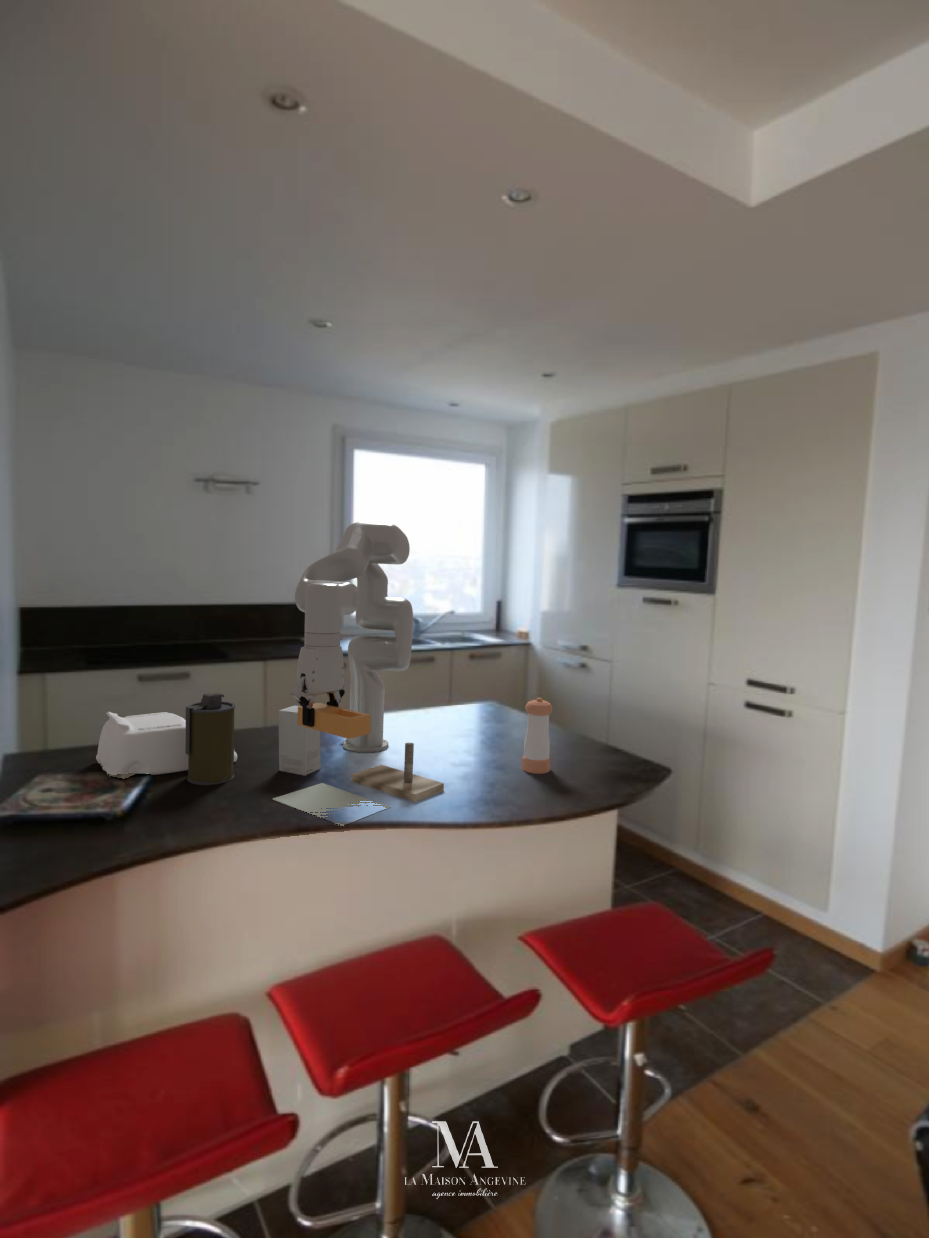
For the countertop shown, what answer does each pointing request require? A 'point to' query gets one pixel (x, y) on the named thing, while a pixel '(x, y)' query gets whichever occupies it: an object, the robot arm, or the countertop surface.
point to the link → (338, 721)
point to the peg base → (399, 779)
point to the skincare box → (297, 744)
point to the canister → (210, 740)
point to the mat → (322, 799)
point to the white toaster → (144, 744)
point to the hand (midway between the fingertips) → (320, 722)
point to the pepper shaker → (537, 737)
